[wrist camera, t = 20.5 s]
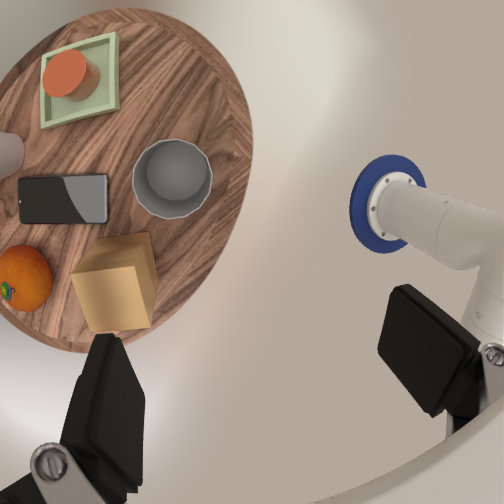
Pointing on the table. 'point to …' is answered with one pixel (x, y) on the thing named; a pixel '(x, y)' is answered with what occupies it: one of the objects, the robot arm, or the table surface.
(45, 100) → the tray
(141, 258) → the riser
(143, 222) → the table surface
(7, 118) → the table surface
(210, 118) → the table surface
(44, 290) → the fruit
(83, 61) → the orange cylinder puck
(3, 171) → the coffee cup
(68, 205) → the smartphone
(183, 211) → the cup
